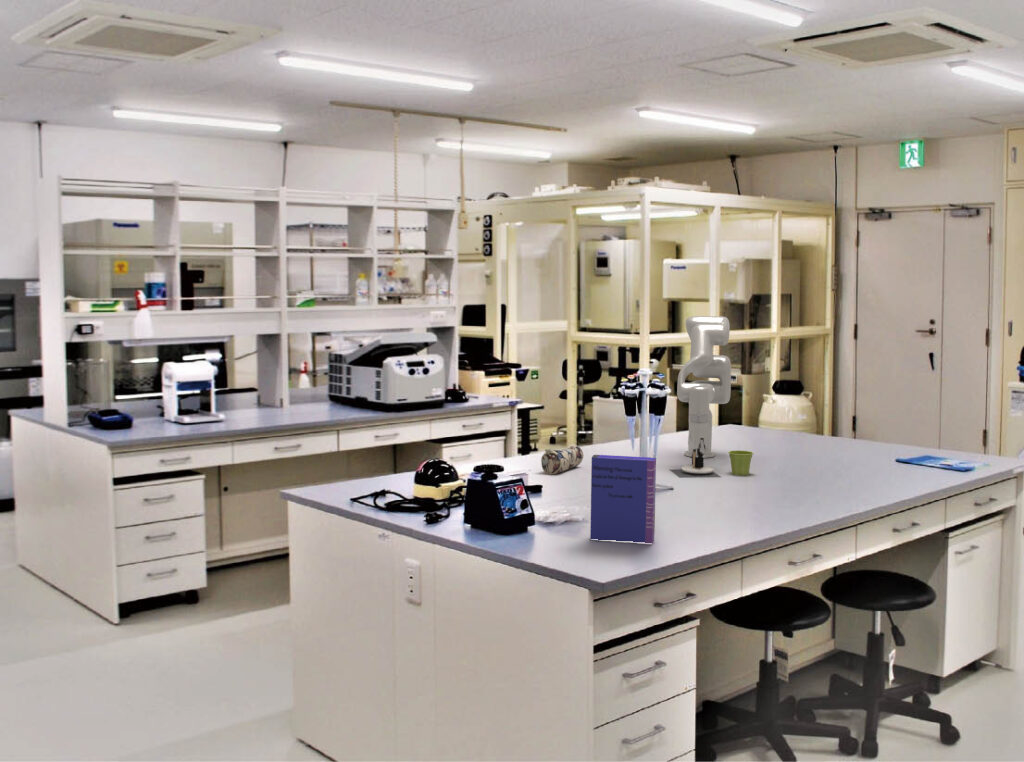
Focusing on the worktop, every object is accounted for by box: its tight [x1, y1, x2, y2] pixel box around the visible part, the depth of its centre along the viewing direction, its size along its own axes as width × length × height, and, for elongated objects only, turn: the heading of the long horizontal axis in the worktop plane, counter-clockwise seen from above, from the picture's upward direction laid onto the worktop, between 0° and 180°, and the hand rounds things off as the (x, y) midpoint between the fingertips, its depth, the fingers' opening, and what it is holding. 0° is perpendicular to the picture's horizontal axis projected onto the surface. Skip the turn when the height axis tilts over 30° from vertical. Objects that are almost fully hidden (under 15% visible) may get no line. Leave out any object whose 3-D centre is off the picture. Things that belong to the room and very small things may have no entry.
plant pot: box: [727, 450, 754, 476], centre depth 388 cm, size 9×9×9 cm
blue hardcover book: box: [589, 454, 657, 544], centre depth 288 cm, size 17×5×24 cm, turn 75°
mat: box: [668, 468, 722, 479], centre depth 388 cm, size 16×16×1 cm
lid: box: [681, 451, 715, 474], centre depth 388 cm, size 12×12×7 cm
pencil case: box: [540, 443, 584, 476], centre depth 394 cm, size 22×8×10 cm, turn 151°
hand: (697, 465), depth 389 cm, fingers closed on lid, 3 cm apart
